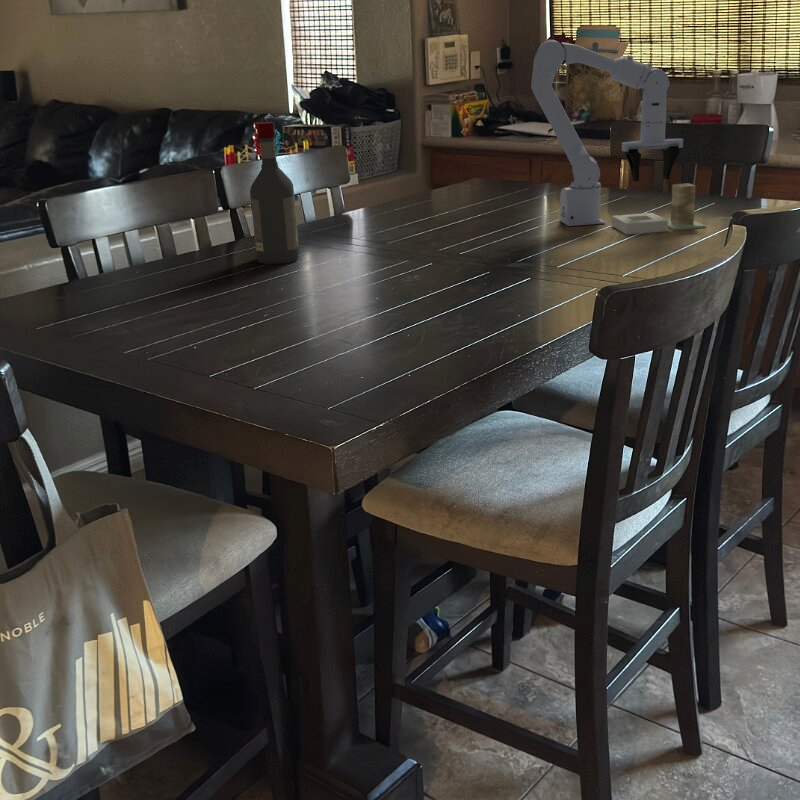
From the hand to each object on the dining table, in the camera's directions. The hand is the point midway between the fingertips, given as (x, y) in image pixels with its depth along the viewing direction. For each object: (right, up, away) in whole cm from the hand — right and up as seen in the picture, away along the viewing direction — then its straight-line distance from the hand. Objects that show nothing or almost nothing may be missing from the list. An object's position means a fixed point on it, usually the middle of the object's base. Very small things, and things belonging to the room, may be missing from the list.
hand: (650, 179), depth 239 cm
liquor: (-88, -22, -15) cm, 92 cm away
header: (-4, -13, -4) cm, 14 cm away
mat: (+7, -12, -3) cm, 14 cm away
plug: (+7, -11, -3) cm, 13 cm away
